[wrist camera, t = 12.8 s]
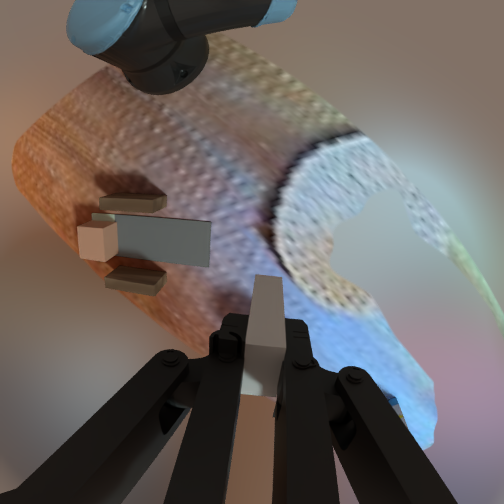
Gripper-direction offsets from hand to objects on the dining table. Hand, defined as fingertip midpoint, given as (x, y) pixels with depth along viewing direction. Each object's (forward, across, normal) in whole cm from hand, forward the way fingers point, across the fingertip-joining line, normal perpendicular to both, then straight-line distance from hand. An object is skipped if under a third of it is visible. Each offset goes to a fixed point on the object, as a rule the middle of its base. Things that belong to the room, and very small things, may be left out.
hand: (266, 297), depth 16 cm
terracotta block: (+30, -30, -7) cm, 44 cm away
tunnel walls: (+30, -22, -7) cm, 38 cm away
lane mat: (+30, -22, -7) cm, 38 cm away
